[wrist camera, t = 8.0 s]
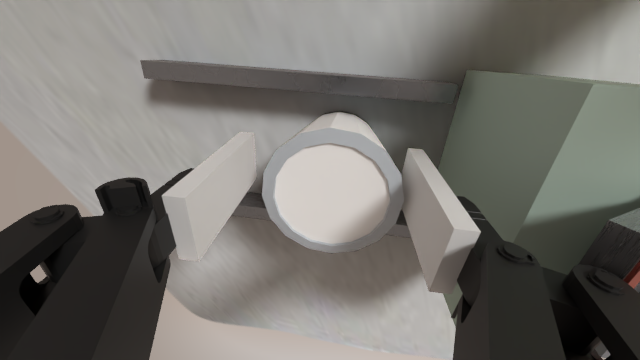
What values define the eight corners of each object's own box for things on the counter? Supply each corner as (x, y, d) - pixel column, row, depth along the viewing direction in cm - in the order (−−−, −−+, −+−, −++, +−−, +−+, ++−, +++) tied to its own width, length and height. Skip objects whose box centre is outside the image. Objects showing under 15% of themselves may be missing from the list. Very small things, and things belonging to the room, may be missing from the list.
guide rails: (162, 60, 17) (140, 60, 15) (446, 81, 16) (458, 85, 14) (188, 195, 22) (173, 208, 20) (408, 222, 20) (414, 238, 18)
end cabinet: (467, 69, 15) (644, 89, 6) (546, 75, 15) (868, 106, 6) (418, 235, 21) (471, 380, 11) (475, 242, 20) (578, 398, 11)
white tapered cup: (288, 102, 17) (250, 128, 11) (391, 101, 16) (414, 128, 10) (295, 191, 20) (268, 251, 14) (383, 194, 19) (397, 259, 13)
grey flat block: (610, 211, 6) (668, 234, 6) (679, 186, 8) (730, 201, 7) (509, 361, 9) (538, 390, 8) (577, 318, 11) (606, 339, 10)
